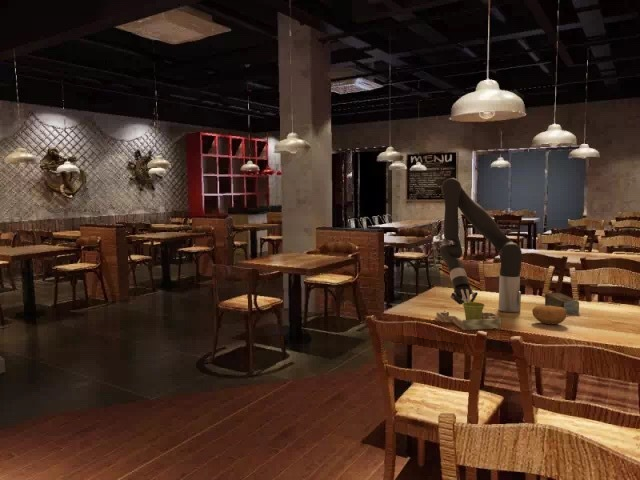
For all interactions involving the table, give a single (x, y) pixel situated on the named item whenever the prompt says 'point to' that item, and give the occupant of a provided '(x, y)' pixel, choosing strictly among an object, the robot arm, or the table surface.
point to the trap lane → (472, 321)
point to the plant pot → (473, 310)
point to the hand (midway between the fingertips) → (468, 311)
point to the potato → (549, 314)
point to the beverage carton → (562, 302)
